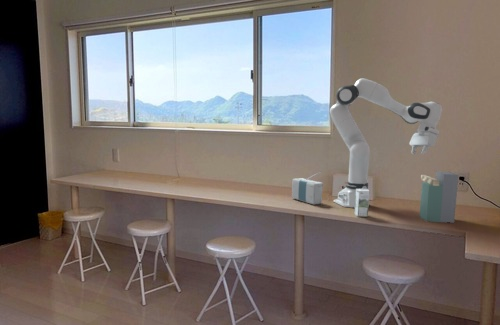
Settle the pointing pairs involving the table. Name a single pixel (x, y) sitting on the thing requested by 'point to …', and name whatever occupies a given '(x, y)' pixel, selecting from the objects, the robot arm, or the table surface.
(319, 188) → the stereo radio cassette player
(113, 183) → the table surface
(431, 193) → the stepped riser
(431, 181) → the ash rod
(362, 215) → the syrup box
